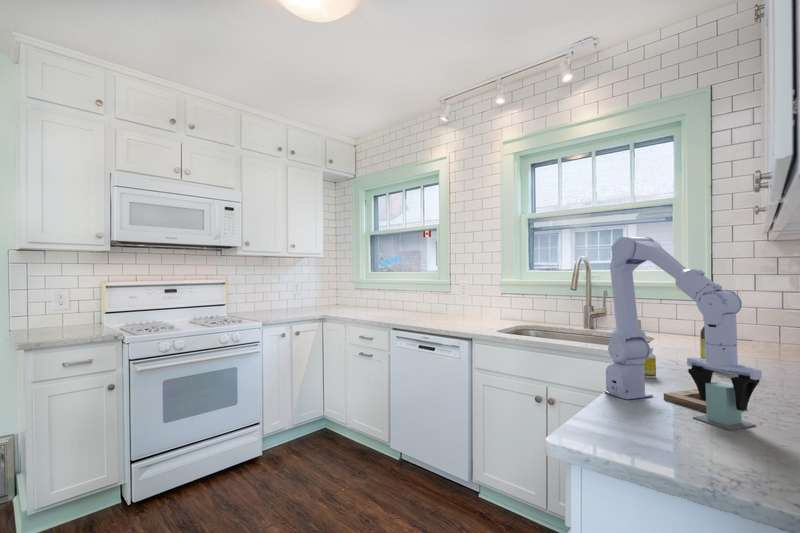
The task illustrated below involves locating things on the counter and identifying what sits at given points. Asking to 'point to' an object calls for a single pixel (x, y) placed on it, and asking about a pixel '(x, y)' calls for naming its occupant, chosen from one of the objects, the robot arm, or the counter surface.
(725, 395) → the peg
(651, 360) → the supplement bottle
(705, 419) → the rubber mat
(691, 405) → the block
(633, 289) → the robot arm
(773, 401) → the counter surface
